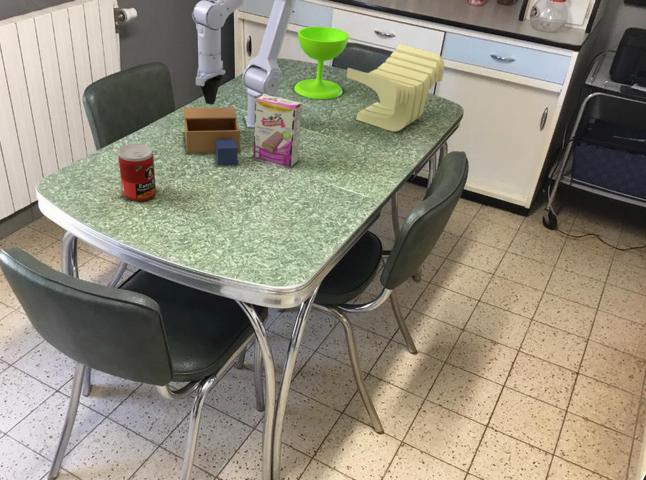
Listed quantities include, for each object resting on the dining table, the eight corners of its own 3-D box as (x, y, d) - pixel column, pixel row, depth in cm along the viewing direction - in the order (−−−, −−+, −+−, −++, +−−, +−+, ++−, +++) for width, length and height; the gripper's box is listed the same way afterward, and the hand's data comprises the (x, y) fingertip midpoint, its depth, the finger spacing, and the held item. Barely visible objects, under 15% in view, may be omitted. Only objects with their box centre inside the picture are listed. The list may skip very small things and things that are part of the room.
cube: (235, 157, 169) (235, 139, 166) (237, 165, 165) (237, 148, 162) (216, 157, 168) (215, 139, 165) (217, 166, 164) (217, 148, 161)
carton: (184, 132, 179) (183, 110, 175) (233, 131, 181) (234, 109, 178) (187, 154, 168) (186, 131, 164) (239, 153, 171) (239, 130, 167)
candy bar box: (252, 158, 168) (254, 98, 159) (260, 151, 172) (263, 92, 162) (290, 169, 165) (295, 108, 155) (298, 161, 169) (303, 101, 159)
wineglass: (348, 98, 206) (355, 41, 195) (300, 100, 203) (304, 42, 192) (335, 80, 218) (340, 26, 208) (289, 81, 215) (292, 26, 204)
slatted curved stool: (388, 144, 180) (398, 82, 169) (340, 127, 187) (347, 67, 177) (434, 113, 200) (446, 56, 189) (390, 99, 207) (399, 43, 196)
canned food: (140, 205, 147) (137, 162, 140) (115, 194, 150) (110, 151, 143) (163, 192, 152) (160, 149, 145) (137, 182, 155) (133, 140, 149)
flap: (184, 109, 175) (183, 107, 175) (233, 108, 177) (233, 107, 177) (185, 119, 170) (185, 118, 170) (236, 118, 172) (236, 117, 172)
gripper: (214, 62, 156) (214, 115, 164) (233, 45, 167) (233, 95, 175) (187, 58, 157) (189, 111, 165) (208, 42, 168) (209, 92, 176)
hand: (210, 103), depth 170 cm, fingers closed
